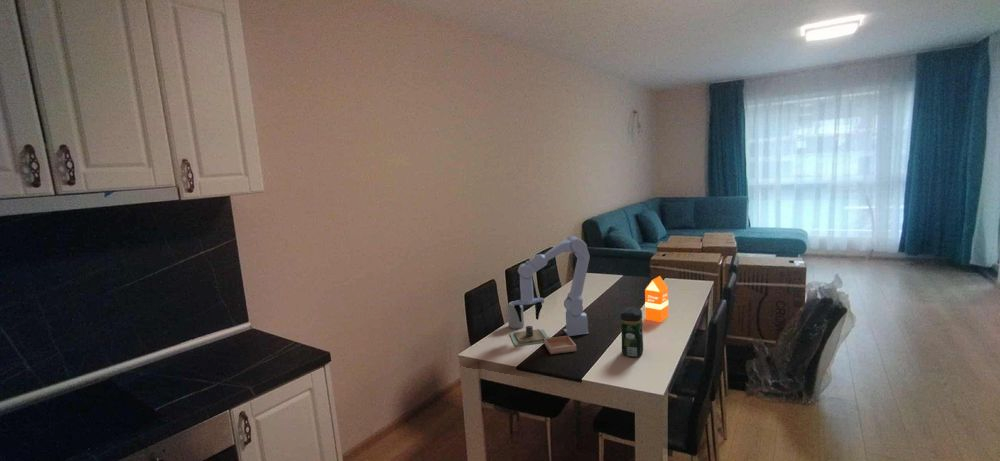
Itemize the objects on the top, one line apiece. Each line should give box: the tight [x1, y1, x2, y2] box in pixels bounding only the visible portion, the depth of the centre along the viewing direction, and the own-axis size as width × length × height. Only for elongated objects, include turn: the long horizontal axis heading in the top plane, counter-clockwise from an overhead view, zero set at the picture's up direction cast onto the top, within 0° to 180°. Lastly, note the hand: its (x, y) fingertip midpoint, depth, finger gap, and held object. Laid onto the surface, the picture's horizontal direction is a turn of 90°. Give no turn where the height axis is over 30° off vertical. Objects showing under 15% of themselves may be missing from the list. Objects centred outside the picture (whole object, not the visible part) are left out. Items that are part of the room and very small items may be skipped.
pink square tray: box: [543, 335, 577, 355], centre depth 190 cm, size 11×11×2 cm
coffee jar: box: [620, 306, 644, 358], centre depth 179 cm, size 10×8×19 cm
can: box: [507, 301, 525, 330], centre depth 217 cm, size 8×8×12 cm
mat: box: [509, 329, 550, 347], centre depth 202 cm, size 16×14×1 cm
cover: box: [513, 325, 546, 344], centre depth 202 cm, size 12×12×5 cm
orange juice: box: [644, 275, 669, 323], centre depth 215 cm, size 8×9×20 cm
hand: (528, 319), depth 201 cm, fingers open, 7 cm apart
